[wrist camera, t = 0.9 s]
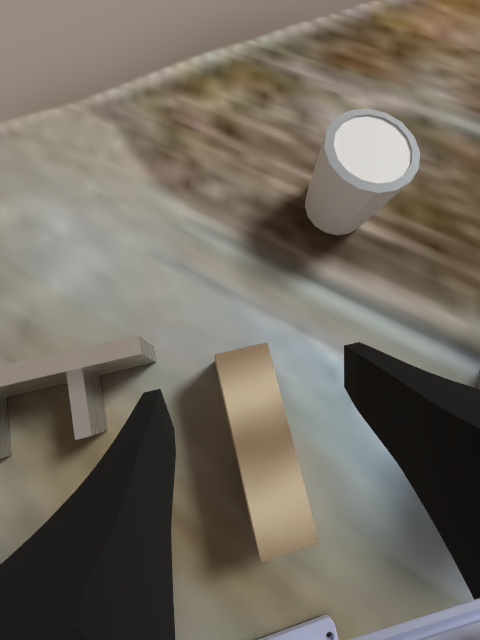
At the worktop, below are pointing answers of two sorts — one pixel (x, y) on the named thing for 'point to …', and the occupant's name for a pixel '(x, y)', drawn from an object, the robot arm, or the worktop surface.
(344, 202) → the shot glass
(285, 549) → the maple rail
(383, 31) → the worktop surface
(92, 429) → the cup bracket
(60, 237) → the worktop surface
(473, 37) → the worktop surface
